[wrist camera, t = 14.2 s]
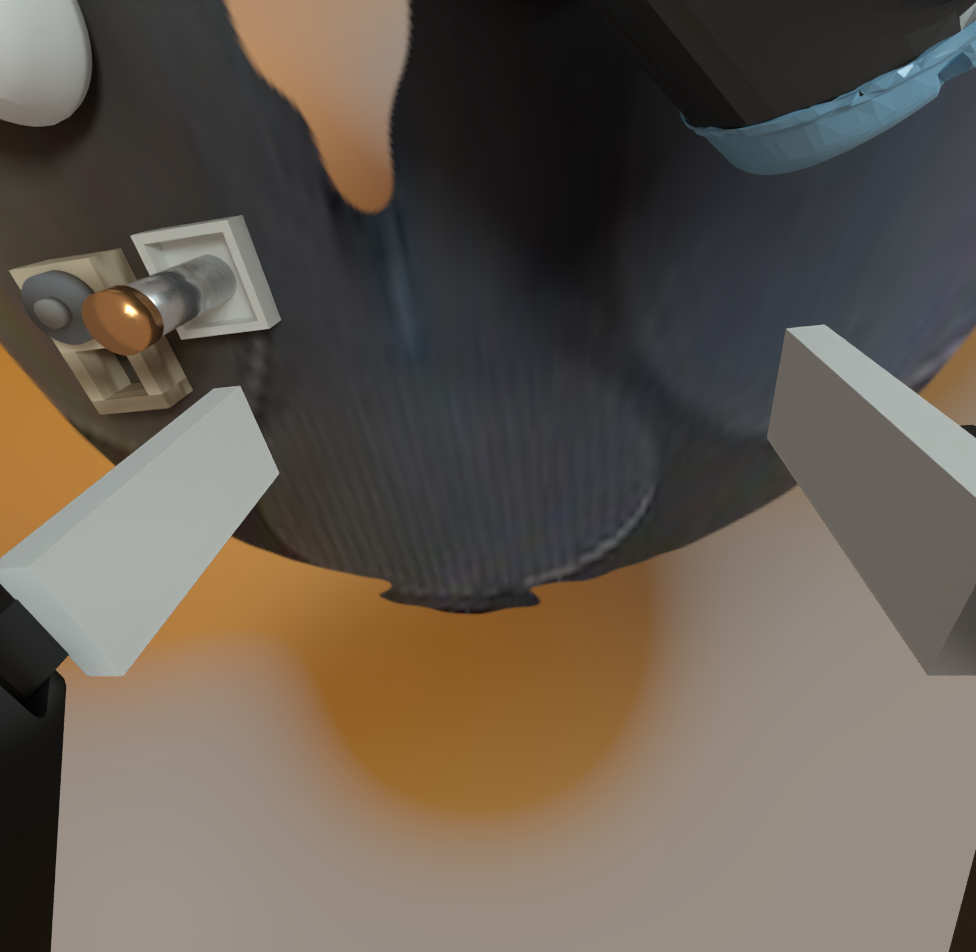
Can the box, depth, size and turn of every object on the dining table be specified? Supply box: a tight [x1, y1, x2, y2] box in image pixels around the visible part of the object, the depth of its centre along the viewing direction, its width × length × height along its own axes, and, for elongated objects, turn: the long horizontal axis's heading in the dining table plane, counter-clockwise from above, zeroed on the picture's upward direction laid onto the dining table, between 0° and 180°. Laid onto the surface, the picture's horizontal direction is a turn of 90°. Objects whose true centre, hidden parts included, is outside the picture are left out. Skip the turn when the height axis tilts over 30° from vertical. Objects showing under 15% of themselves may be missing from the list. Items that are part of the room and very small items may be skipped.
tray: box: [131, 215, 281, 340], centre depth 46 cm, size 9×9×2 cm
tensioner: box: [9, 248, 193, 415], centre depth 48 cm, size 14×8×7 cm, turn 8°
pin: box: [81, 255, 236, 356], centre depth 41 cm, size 4×4×13 cm
